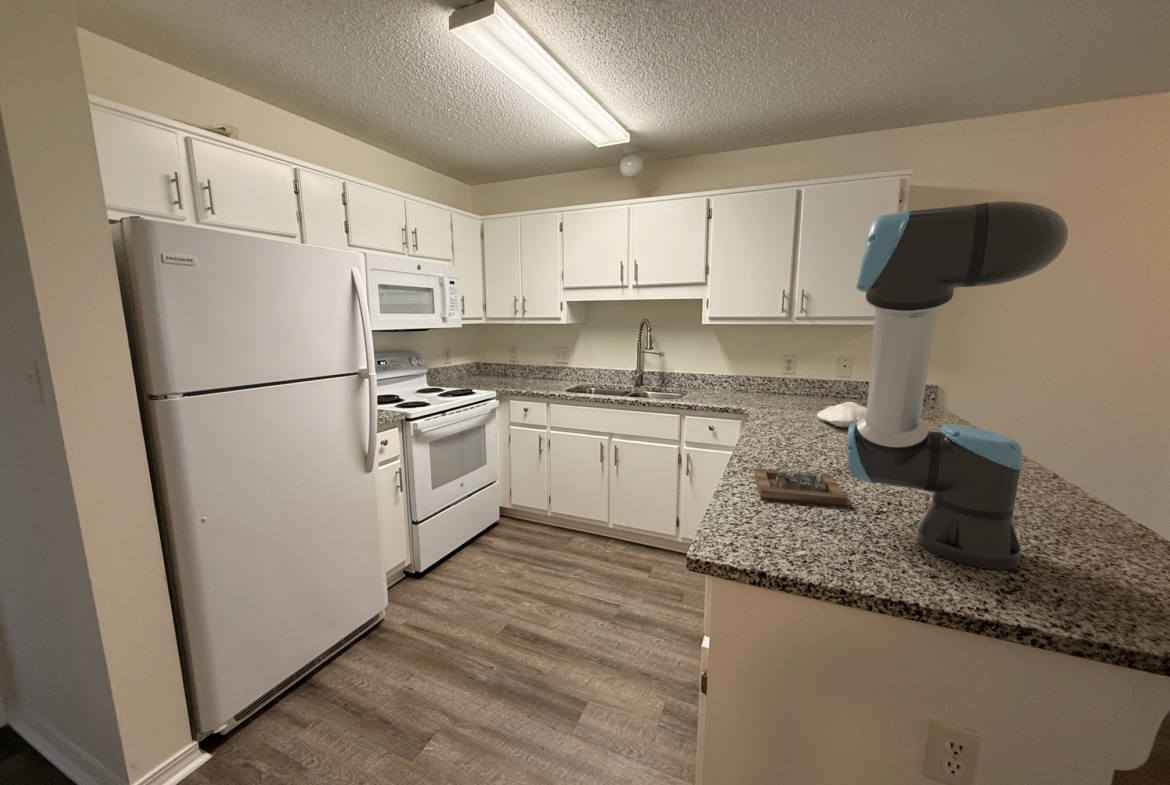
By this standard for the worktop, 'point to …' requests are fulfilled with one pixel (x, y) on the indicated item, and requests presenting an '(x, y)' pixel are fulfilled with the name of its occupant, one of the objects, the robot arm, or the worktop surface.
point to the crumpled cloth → (842, 414)
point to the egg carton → (798, 481)
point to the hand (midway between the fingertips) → (894, 379)
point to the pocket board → (826, 496)
